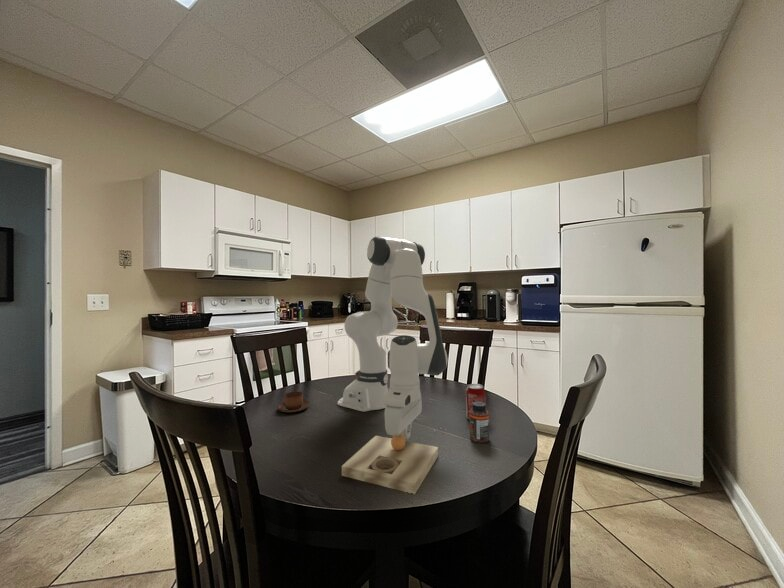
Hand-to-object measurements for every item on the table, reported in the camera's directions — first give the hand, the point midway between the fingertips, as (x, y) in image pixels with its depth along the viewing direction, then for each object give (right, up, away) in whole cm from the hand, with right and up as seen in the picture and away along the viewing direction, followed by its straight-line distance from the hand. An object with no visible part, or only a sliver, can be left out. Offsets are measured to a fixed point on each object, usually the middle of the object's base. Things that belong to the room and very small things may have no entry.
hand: (405, 438), depth 97 cm
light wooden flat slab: (-4, -4, -8) cm, 10 cm away
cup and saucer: (-44, -5, +36) cm, 57 cm away
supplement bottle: (+23, -3, +6) cm, 24 cm away
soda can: (+26, -3, +22) cm, 35 cm away
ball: (-2, +1, -5) cm, 5 cm away
